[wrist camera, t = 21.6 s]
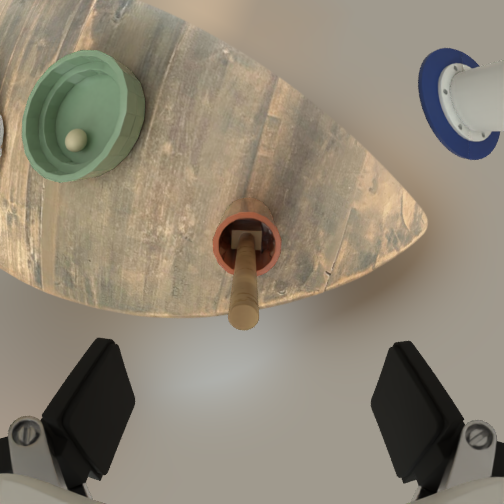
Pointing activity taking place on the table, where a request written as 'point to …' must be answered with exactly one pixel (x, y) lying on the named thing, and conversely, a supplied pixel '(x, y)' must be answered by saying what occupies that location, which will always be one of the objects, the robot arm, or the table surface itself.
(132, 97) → the bowl
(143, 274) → the table surface
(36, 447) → the robot arm
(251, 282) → the wooden masher
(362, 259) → the table surface
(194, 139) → the table surface
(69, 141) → the bead
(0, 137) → the knife
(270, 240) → the utensil cup
